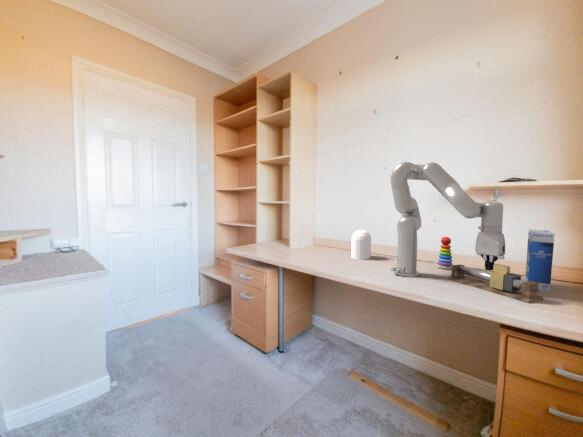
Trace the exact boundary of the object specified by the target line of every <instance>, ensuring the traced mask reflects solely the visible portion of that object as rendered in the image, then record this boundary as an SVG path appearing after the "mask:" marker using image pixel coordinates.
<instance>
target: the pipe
mask: <svg viewBox="0 0 583 437" xmlns="http://www.w3.org/2000/svg"><path fill="white" fill-rule="evenodd" d="M458 272H459V273H461V274H464V276H467V277H471V278H475V279H479V280H483V281H486V282H490V272H489V271H488V272H487V271H483V270H478V269H475V268H471V267H462V266H460V267H459V268H458ZM524 282H526V281H525V280H522V279H521V280H517V279H513V287H514V288H518V289H520V291H522V283H524Z"/></svg>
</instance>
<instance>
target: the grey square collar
mask: <svg viewBox="0 0 583 437" xmlns="http://www.w3.org/2000/svg"><path fill="white" fill-rule="evenodd" d="M521 277H522V276H521V275H520V274H516V273H513V274H508V275H504V280H503V290H506V291H510V292H513V291H518V290H519V291H521V289H518V288H514V287H513V279H517V280H521V281H522V278H521Z"/></svg>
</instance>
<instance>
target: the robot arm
mask: <svg viewBox="0 0 583 437" xmlns="http://www.w3.org/2000/svg"><path fill="white" fill-rule="evenodd" d="M408 180H413V181H428V183H430V184H431V185H432V186H433V187H434V189H436V190H437V192H438V193H439V194H440V195H441V196H442V197H443V198H445V200H447V202H449V204H450V205H451V206H452V207H453V208H454V209H455V210H456V211H457V212H458V213H460V215H461V216H463V217H464V218H466V219H474V218H481V219H480V225H478V227H477V229H478V230H480V231H478V233H477V237H476V240H475V251H474V252H475V253H476V255H477V256H479V257H481V258H482V259H483V261H484V269H485V271H488V272H489V271H490V272H491V271H493V267H494V264H495V263H496V262H497V260H505V254H506V240H505V235H504V233H503V221H504V220H503V219H504V205H503V203H502V202H495V201H494V202H490V201H489V202H478V201H477V202H476V201H475V200H474V199H473V198H472V197H471V196H470V195H468V193H467V192H466V191H464V189H463V188H462V187H461V186H460V184H459V182H458V181H457V180H456V179H454V177H453V176H451V174H449V173H448V172H447V171H446V170H445V169H444V168H443V167H442V166H441V165H440V164H438V163H436V162H432V161H431V162H428V163H426V164H414V163H412V162H409V161H403V162H401V163H399V164H398V165H396V167H395V168H394V169H393V170H392V172H391V175H390V185H391V190H392V196H393V202H394V207H395V209H396V211H397V212H398V213H400V214H401V217H400V218H399V220H398V221H397V226H396V230H397V258H396V260H397V261H396V262H397V264H396V265H395V267H390V271H391V272H393V273H394V274H396V275H398V276H402V277H409V278H413V277H414V278H415V277H419V276H420V272H419V271H418V270H417V268H418V267H417V261H418V231H419V230H420V229H421V227H422V217H421V215H420V214H421V213H420V209H419V204H418V201H417V200H416V199H415V197H413V196H411V195H412V194H411V191H410V186H409V183H408Z"/></svg>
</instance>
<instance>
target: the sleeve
mask: <svg viewBox="0 0 583 437" xmlns="http://www.w3.org/2000/svg"><path fill="white" fill-rule="evenodd" d="M489 273H490V281H489V283H490V287H493V288H497V289H500V290H503V280H504V275H508V274H514V273H513V272H511V266H509V265H506V264H500V263H494V267H493V270H491V271H490V272H489Z"/></svg>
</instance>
